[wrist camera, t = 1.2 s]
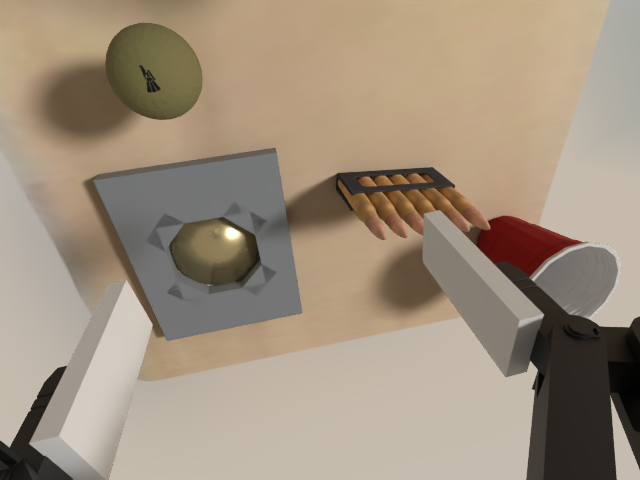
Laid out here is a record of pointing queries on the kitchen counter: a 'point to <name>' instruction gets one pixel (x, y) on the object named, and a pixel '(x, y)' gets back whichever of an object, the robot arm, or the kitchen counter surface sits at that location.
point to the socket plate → (207, 240)
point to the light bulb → (153, 71)
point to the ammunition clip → (405, 200)
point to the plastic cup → (555, 263)
